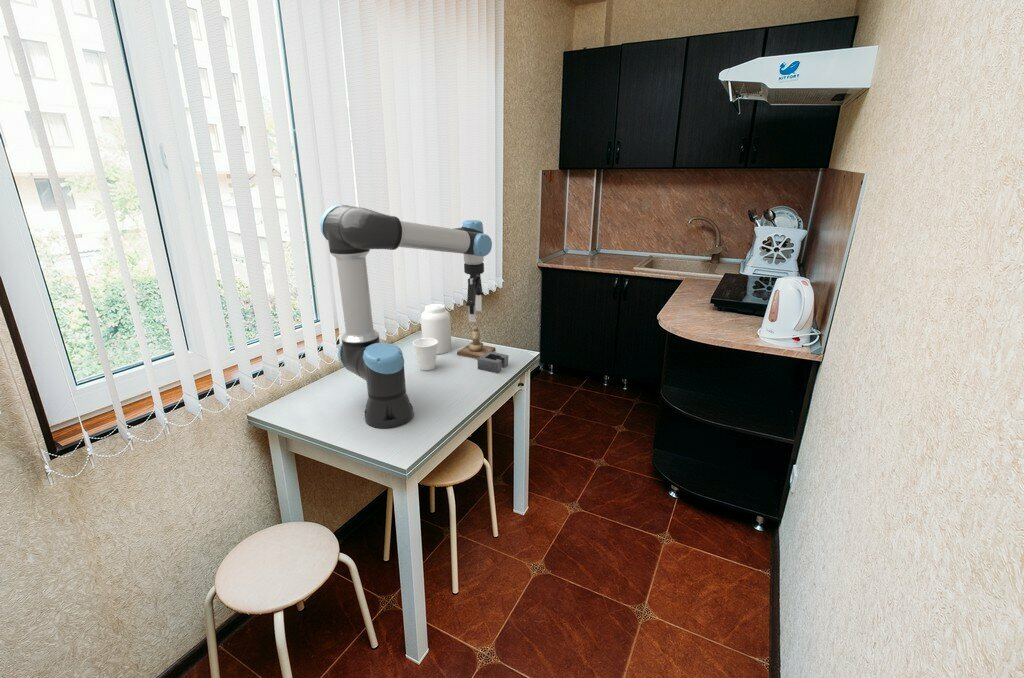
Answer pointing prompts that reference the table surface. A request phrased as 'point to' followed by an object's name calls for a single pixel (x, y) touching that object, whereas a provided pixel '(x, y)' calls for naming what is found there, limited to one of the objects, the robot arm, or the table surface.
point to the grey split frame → (492, 362)
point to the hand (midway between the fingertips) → (475, 316)
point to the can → (437, 326)
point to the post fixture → (475, 347)
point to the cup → (425, 352)
